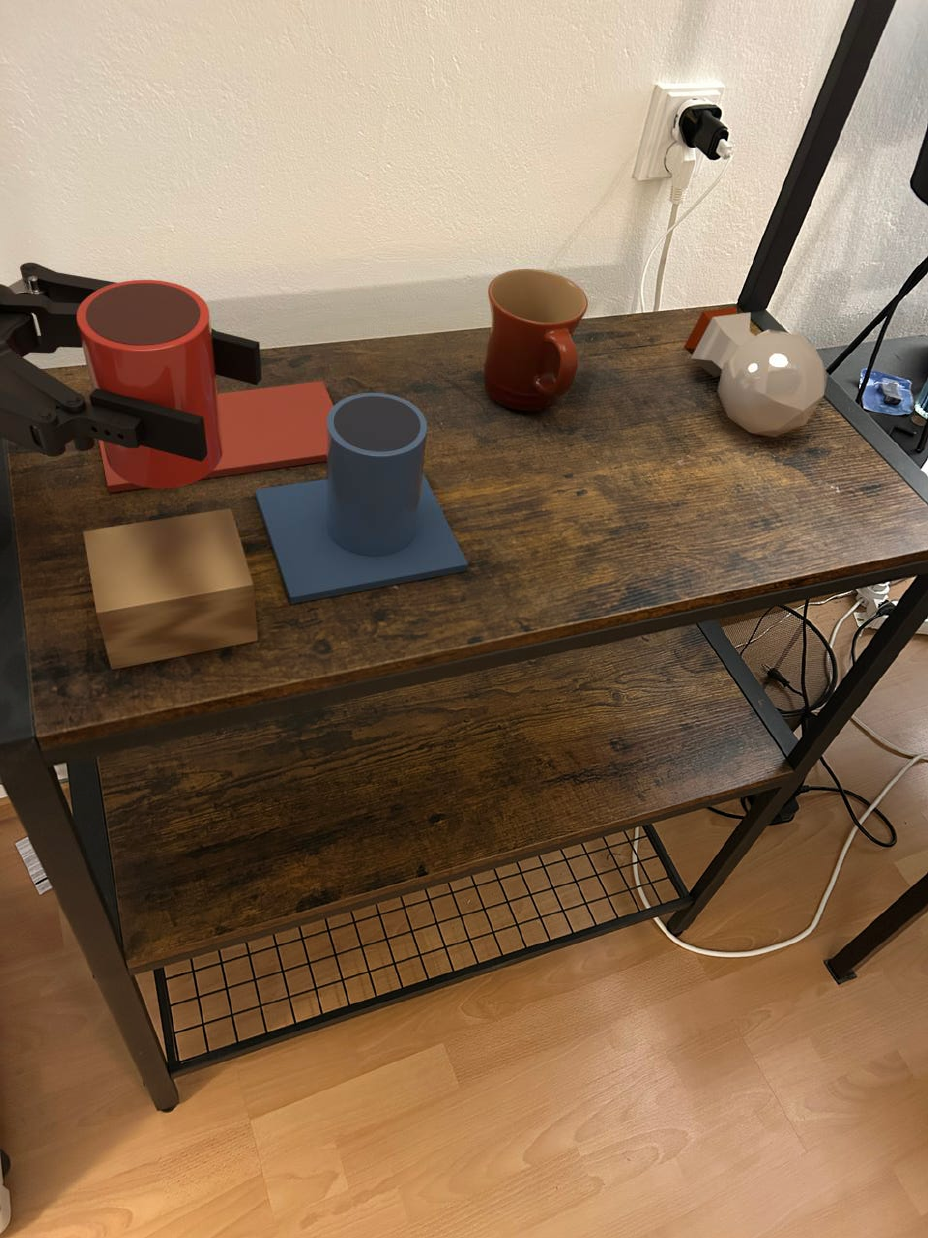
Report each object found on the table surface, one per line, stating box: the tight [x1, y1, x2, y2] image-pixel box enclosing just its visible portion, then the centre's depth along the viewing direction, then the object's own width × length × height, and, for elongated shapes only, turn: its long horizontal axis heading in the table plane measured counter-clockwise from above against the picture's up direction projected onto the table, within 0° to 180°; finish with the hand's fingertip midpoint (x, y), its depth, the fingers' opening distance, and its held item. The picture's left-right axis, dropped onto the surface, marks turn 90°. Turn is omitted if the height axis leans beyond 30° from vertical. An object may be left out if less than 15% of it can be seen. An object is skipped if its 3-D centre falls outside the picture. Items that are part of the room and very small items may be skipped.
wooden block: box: [82, 508, 259, 671], centre depth 67 cm, size 10×8×6 cm
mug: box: [483, 268, 589, 412], centre depth 87 cm, size 12×9×10 cm
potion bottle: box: [683, 306, 829, 438], centre depth 91 cm, size 9×10×15 cm
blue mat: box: [254, 472, 469, 605], centre depth 77 cm, size 14×12×1 cm
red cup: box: [77, 279, 223, 489], centre depth 58 cm, size 7×7×10 cm
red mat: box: [98, 380, 335, 494], centre depth 83 cm, size 20×10×1 cm, turn 110°
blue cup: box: [325, 392, 428, 556], centre depth 73 cm, size 7×7×10 cm
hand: (231, 399), depth 58 cm, fingers closed on red cup, 7 cm apart
